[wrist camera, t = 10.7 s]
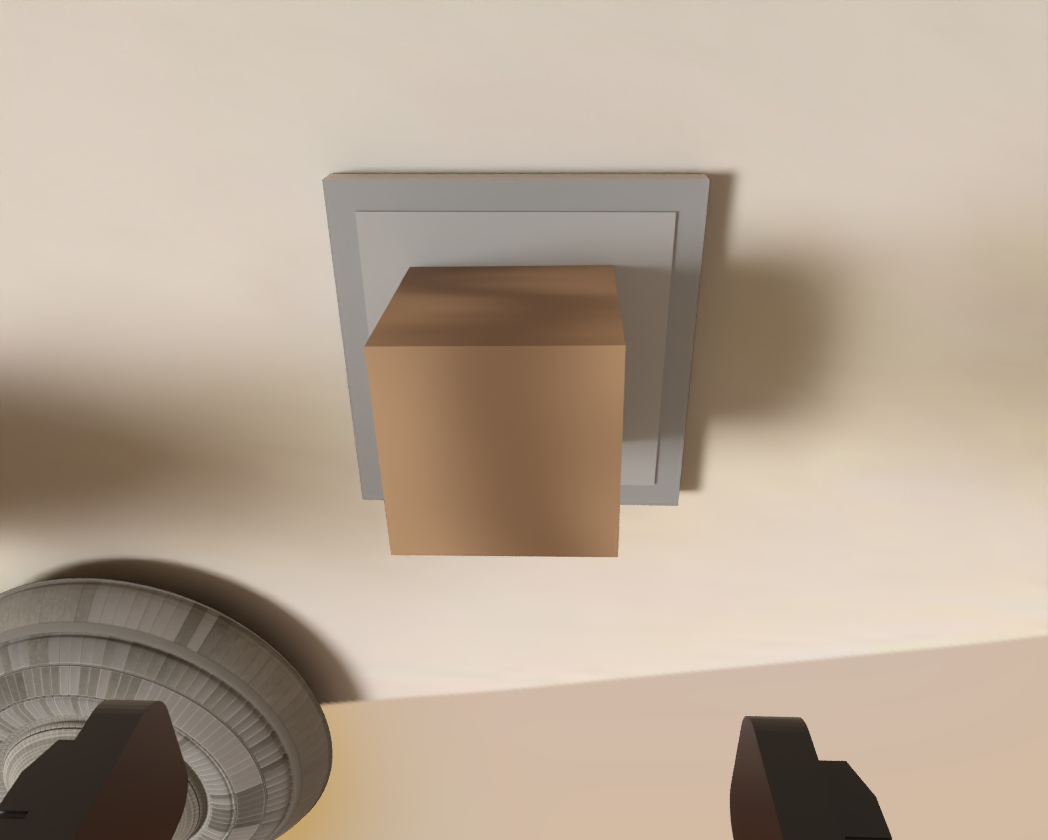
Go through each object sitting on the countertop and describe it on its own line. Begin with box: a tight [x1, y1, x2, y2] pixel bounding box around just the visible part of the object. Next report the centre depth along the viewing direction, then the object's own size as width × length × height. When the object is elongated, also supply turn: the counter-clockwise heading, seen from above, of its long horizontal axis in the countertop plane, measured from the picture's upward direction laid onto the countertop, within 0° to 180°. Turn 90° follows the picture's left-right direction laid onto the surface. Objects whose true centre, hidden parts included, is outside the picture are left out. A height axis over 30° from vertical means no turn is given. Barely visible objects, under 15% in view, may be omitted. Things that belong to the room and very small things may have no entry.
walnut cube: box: [364, 265, 626, 557], centre depth 20 cm, size 6×6×6 cm
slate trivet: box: [322, 174, 710, 506], centre depth 23 cm, size 10×10×1 cm
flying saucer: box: [0, 578, 332, 840], centre depth 30 cm, size 15×15×6 cm
